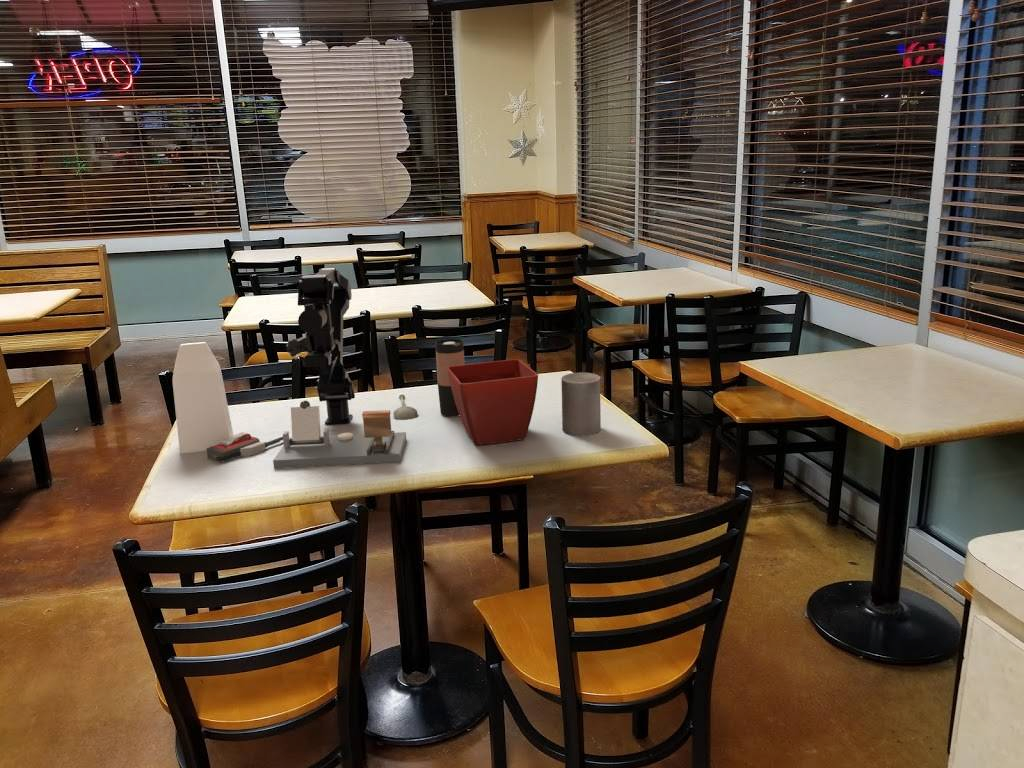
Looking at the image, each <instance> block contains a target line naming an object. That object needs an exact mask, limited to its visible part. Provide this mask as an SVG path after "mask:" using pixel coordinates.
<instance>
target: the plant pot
mask: <svg viewBox="0 0 1024 768" xmlns="http://www.w3.org/2000/svg"><path fill="white" fill-rule="evenodd" d="M447 371H448V376H449V381H450V385H451V389H452V393H453V396H454V400H455V403H456V406H457V410H458V413H459V415H460V416H459V418H460V421H461V423H462V426H463V428H464V431H465V432H466V434H467V436H468V437H469V438H470V440H471V441H472V443H473V444H474V445H475V446H481V445H482V446H483V445H488V444H489V445H490V444H498V443H499V444H500V443H505V442H506V443H507V442H512V441H515V442H516V441H520V440H521V441H522V440H525V439H526V437H527V434H528V431H529V427H530V424H531V420H532V418H533V417H532V416H533V412H534V409H535V402H536V397H537V392H538V391H537V390H538V382H539V374H538V373H537V372H536V371H534V370H533V369H532V368H531V367H529V365H527V364H526V363H524V362H523V361H522V360H521V359H518V358H516V359H513V358H512V359H505V360H504V359H503V360H495V361H485V362H477V363H476V362H475V363H474V362H473V363H465V365H457V366H449V367H447Z"/></svg>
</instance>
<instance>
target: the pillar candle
mask: <svg viewBox="0 0 1024 768" xmlns="http://www.w3.org/2000/svg"><path fill="white" fill-rule="evenodd" d="M560 383H561V419H562V428H561V429H562V432H563V431H564V432H563V433H564V434H567V435H571V436H576V435H578V437H580V436H581V437H582V435H586V436H591V434H592V435H594V434H596V433H598V432H600V431H601V428H602V427H601V426H602V425H601V419H602V417H601V415H602V414H601V376H599V375H598V374H595V373H591V372H572V373H568V374H565V375H563V376H561V382H560Z"/></svg>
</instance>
